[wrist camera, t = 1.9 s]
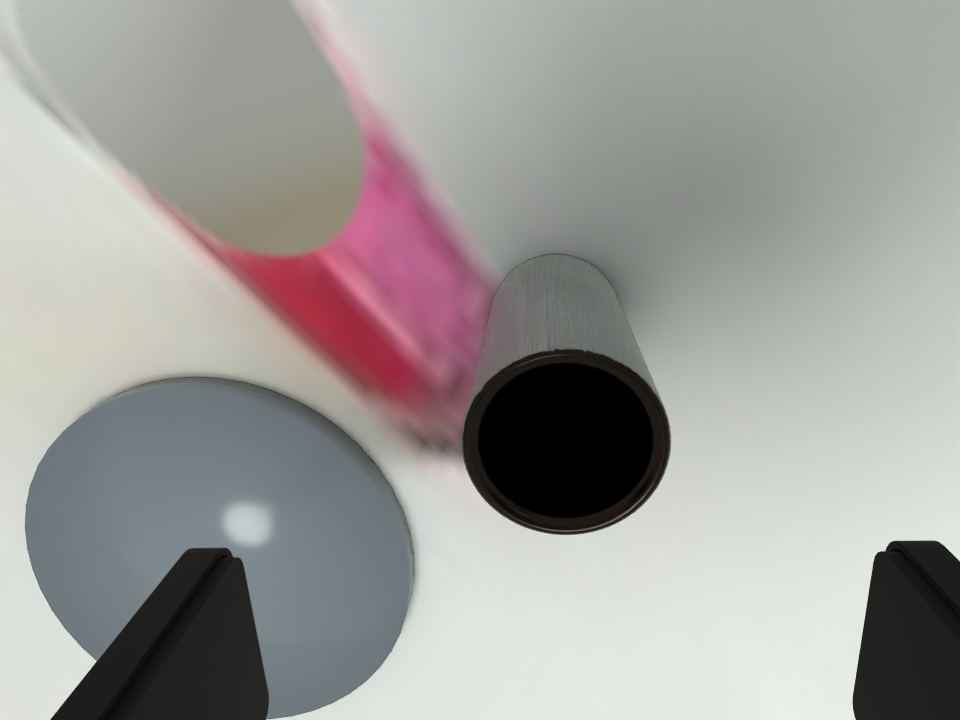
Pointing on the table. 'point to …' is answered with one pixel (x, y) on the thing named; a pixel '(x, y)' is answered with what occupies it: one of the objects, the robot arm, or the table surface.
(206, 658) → the robot arm
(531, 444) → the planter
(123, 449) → the dish
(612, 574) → the table surface
